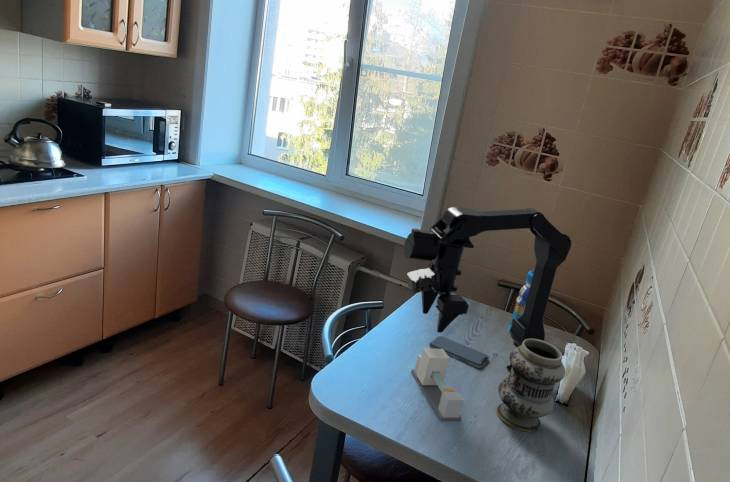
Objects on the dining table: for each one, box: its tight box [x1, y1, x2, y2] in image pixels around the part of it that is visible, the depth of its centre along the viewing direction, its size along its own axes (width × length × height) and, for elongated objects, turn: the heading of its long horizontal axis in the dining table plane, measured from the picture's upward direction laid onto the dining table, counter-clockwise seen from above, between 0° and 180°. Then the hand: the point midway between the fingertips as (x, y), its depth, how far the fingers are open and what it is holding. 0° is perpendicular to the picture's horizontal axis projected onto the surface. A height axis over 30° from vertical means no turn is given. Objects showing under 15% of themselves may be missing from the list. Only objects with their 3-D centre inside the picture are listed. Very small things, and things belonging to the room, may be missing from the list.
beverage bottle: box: [507, 270, 534, 331], centre depth 157 cm, size 8×8×20 cm
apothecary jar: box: [496, 339, 566, 433], centre depth 114 cm, size 12×12×18 cm
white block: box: [417, 347, 450, 385], centre depth 121 cm, size 5×4×7 cm
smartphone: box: [429, 335, 490, 369], centre depth 141 cm, size 8×2×15 cm
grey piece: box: [410, 354, 464, 422], centre depth 118 cm, size 5×18×5 cm, turn 15°
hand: (431, 322), depth 125 cm, fingers open, 9 cm apart
